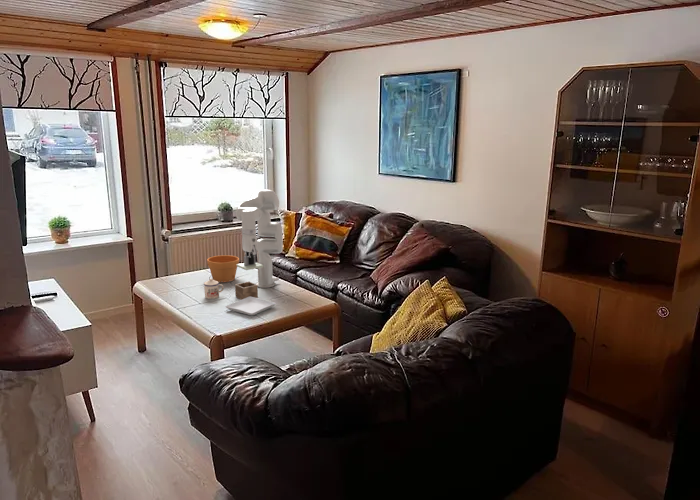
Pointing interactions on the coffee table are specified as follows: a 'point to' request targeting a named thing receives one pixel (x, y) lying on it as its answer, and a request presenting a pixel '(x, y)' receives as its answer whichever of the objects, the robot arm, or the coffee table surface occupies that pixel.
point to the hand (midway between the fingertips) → (249, 263)
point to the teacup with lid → (212, 289)
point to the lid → (246, 264)
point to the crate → (246, 290)
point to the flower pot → (223, 267)
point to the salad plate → (250, 305)
